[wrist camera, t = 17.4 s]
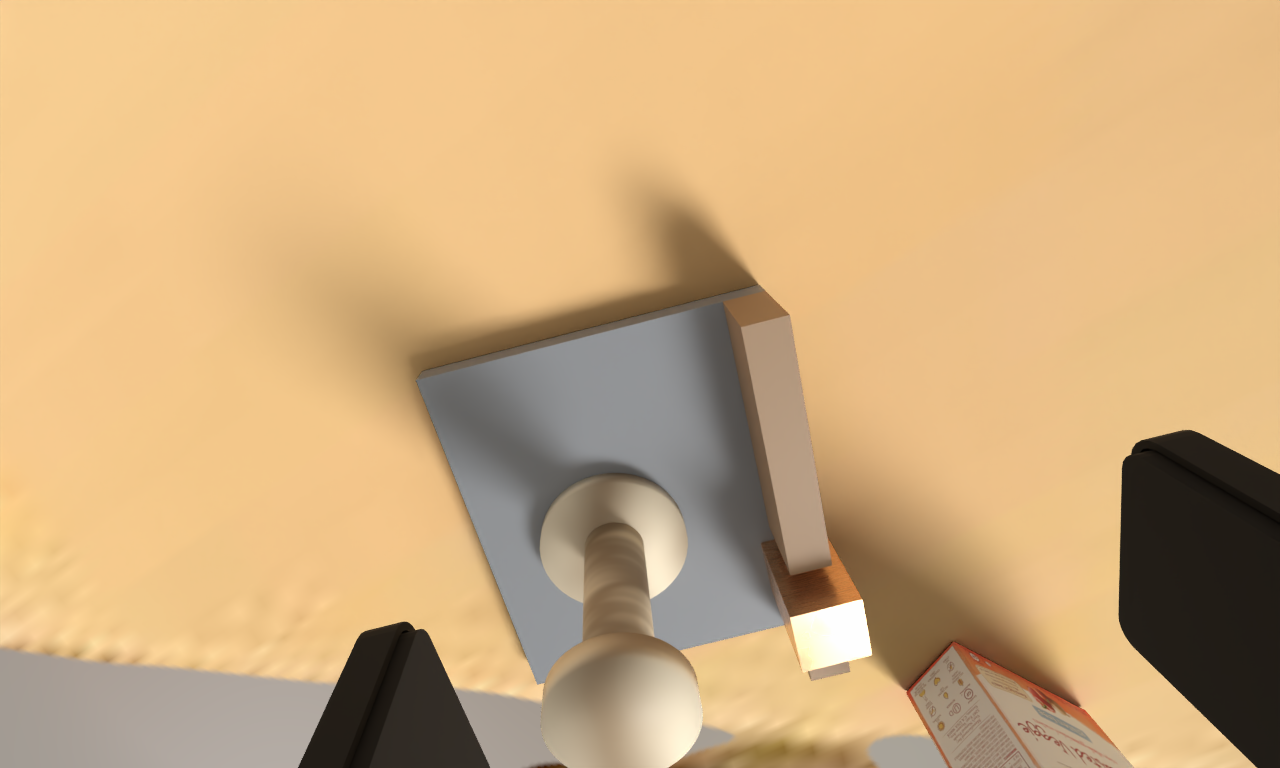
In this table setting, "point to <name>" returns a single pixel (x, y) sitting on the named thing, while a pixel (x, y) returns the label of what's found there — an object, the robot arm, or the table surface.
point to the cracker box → (1004, 719)
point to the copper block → (819, 611)
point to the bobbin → (617, 628)
